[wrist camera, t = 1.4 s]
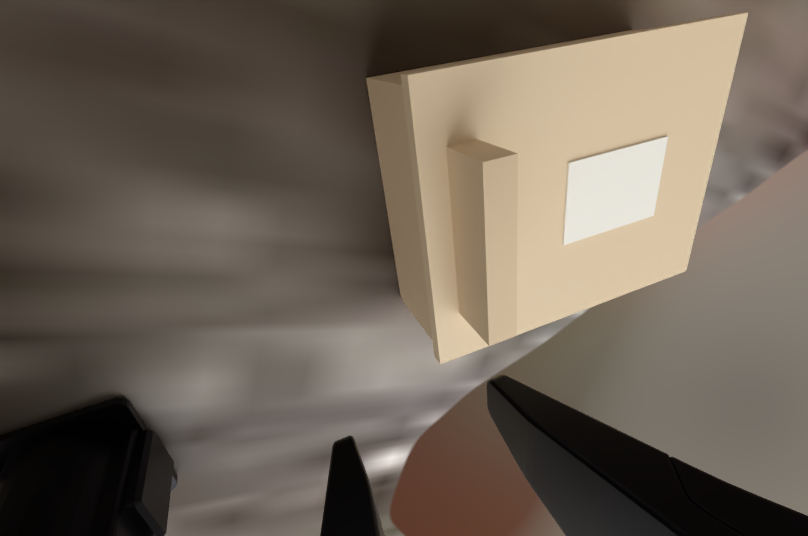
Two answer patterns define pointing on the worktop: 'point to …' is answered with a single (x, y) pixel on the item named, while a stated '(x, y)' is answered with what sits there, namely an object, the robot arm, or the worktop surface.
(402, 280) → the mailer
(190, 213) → the worktop surface
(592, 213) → the lid
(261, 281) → the worktop surface
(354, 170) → the worktop surface
